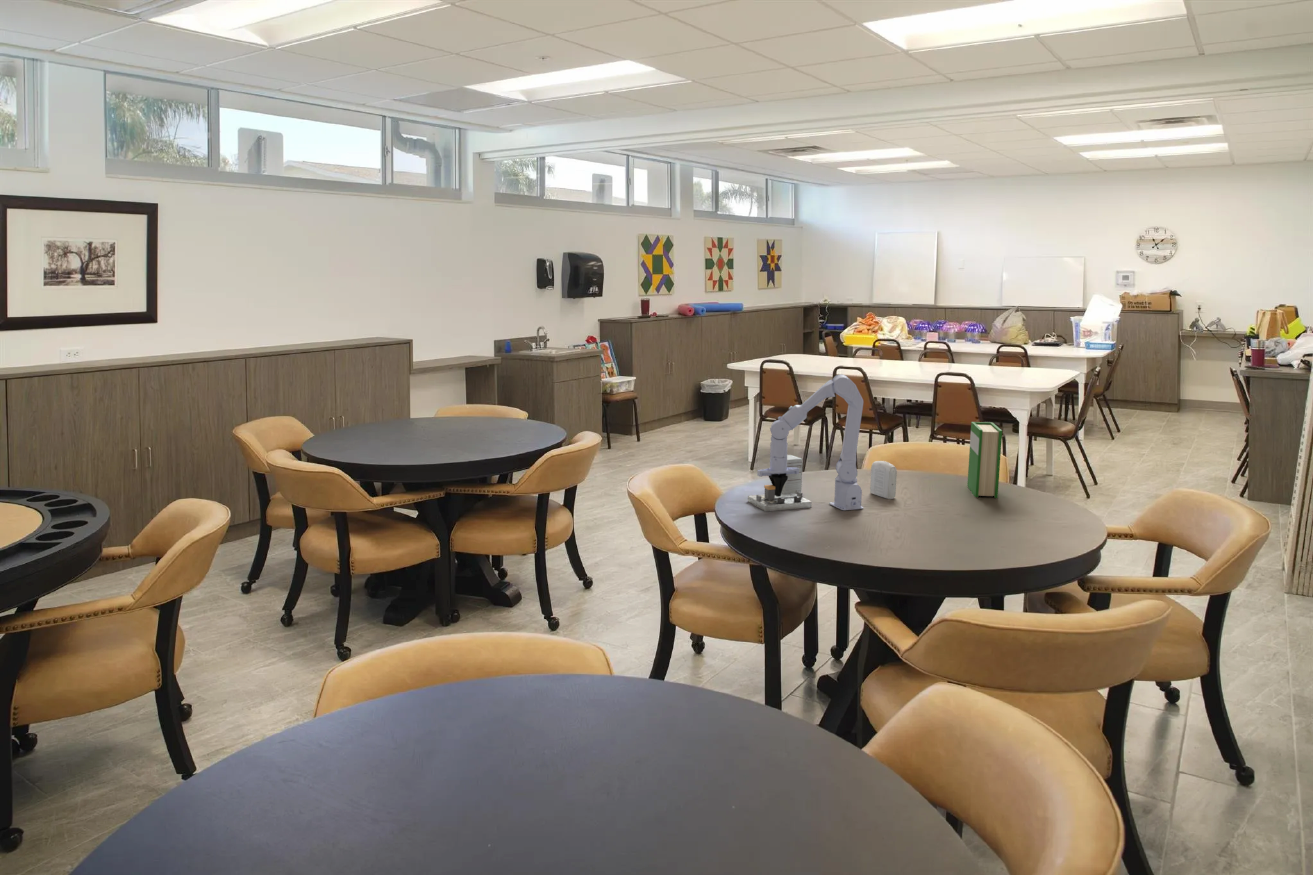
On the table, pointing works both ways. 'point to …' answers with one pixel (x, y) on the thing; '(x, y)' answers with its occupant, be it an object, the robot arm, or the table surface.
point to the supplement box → (793, 475)
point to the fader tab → (769, 492)
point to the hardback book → (984, 459)
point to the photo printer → (883, 479)
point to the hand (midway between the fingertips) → (777, 495)
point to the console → (780, 502)
